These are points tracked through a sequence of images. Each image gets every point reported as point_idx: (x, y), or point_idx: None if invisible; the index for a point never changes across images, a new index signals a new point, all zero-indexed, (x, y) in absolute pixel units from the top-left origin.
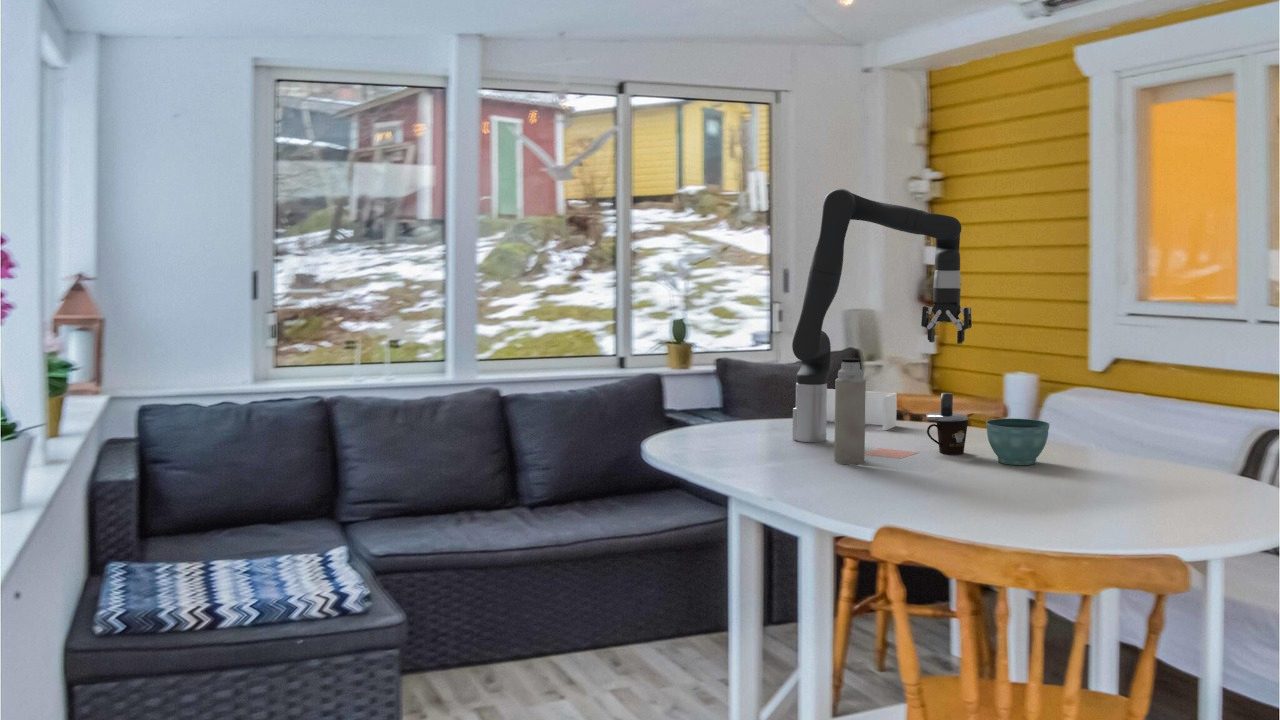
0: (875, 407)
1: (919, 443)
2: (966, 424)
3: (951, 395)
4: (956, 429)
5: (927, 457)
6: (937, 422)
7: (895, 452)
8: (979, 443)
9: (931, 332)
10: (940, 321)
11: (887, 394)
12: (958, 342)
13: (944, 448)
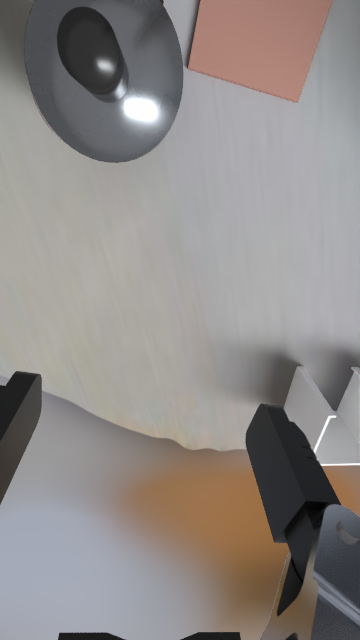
0: (333, 436)
1: (215, 245)
2: None
3: (60, 31)
4: None
5: None
6: None
7: (251, 27)
8: (100, 298)
9: (293, 472)
10: (227, 638)
11: (323, 460)
12: (24, 375)
13: None
